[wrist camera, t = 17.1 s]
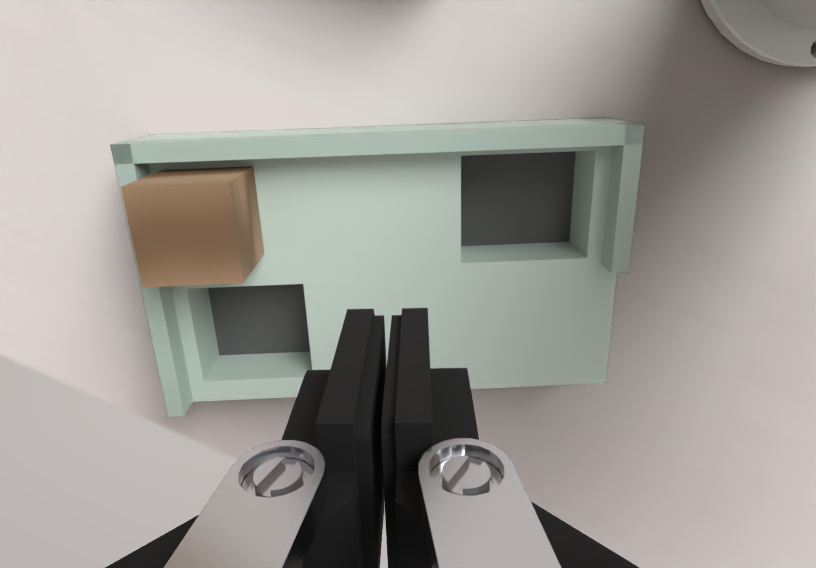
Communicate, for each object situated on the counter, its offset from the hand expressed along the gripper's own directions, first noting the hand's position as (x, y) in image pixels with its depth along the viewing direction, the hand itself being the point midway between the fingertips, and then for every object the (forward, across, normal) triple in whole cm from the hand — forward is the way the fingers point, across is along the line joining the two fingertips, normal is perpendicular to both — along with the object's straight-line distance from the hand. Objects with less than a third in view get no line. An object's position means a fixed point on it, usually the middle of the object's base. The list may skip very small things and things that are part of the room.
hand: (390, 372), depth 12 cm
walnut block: (+14, +9, 0) cm, 17 cm away
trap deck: (+18, +1, +3) cm, 18 cm away
